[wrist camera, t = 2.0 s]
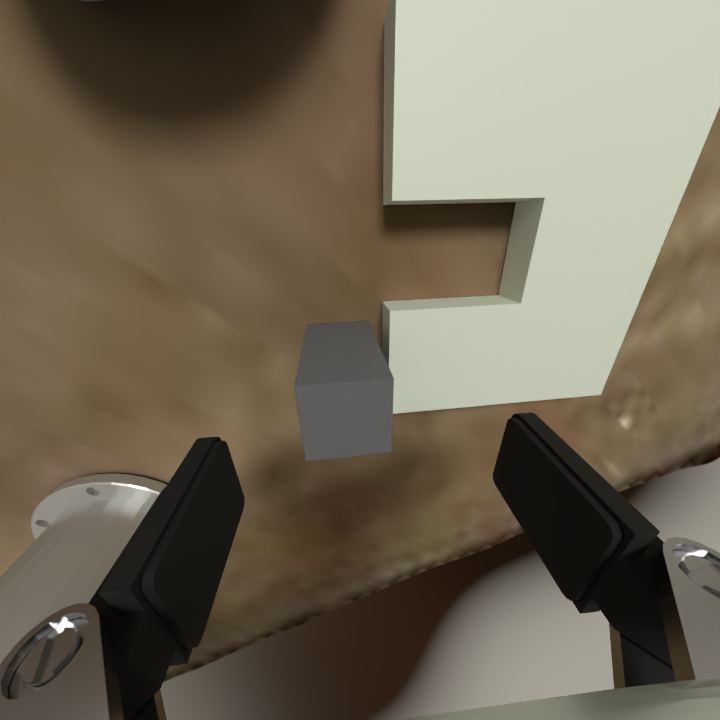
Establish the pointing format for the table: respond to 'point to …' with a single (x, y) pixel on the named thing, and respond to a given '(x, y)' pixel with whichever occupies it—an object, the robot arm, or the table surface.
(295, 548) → the table surface
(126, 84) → the table surface
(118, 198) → the table surface
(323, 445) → the gray rectangular block
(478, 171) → the board
